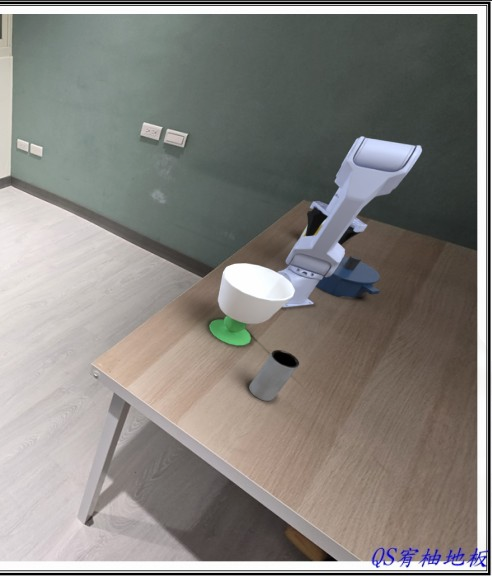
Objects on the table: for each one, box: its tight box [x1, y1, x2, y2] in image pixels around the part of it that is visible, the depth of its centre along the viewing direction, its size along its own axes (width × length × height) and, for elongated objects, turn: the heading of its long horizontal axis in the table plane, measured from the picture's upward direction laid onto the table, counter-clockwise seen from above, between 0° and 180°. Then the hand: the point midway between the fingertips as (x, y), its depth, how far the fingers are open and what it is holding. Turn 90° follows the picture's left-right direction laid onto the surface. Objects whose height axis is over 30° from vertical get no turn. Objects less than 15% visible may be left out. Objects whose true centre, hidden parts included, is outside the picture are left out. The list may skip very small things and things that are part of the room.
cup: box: [208, 262, 295, 347], centre depth 86 cm, size 14×14×16 cm
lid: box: [332, 254, 381, 284], centre depth 102 cm, size 13×13×5 cm
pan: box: [315, 275, 381, 298], centre depth 105 cm, size 12×18×5 cm
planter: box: [248, 349, 300, 402], centre depth 74 cm, size 4×4×10 cm
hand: (320, 242), depth 105 cm, fingers open, 7 cm apart
